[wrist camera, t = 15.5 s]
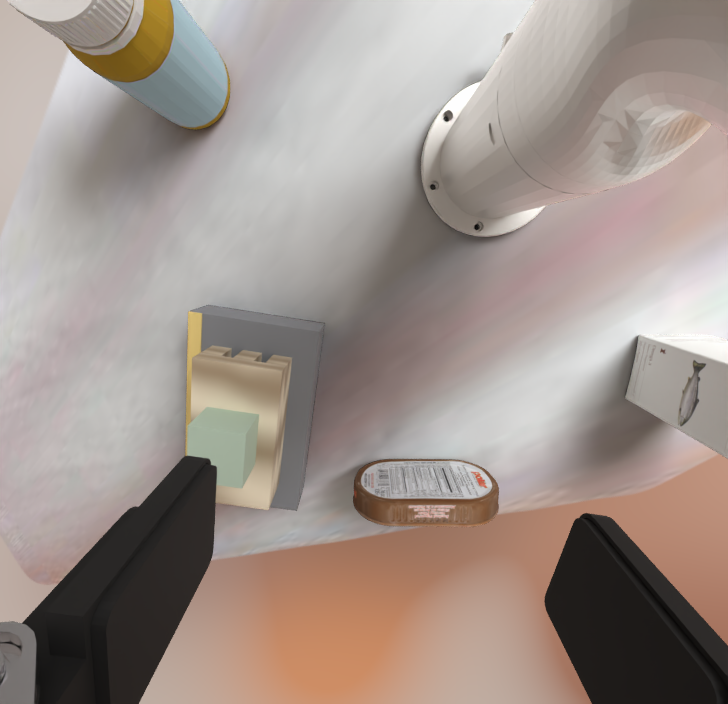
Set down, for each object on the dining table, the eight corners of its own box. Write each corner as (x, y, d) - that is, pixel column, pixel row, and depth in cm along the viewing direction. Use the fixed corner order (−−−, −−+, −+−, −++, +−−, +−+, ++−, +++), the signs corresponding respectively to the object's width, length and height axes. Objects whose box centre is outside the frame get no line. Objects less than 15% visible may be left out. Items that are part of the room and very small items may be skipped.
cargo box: (207, 406, 30) (187, 425, 27) (259, 414, 31) (245, 434, 27) (205, 457, 32) (186, 480, 29) (255, 464, 32) (242, 488, 29)
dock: (208, 304, 36) (188, 311, 32) (324, 323, 36) (319, 332, 32) (202, 472, 42) (184, 495, 38) (303, 486, 42) (296, 511, 38)
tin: (354, 477, 42) (351, 532, 33) (354, 453, 41) (350, 504, 33) (483, 477, 41) (511, 532, 33) (485, 453, 40) (514, 504, 32)
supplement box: (636, 332, 36) (770, 374, 24) (709, 333, 36) (880, 375, 24) (621, 399, 38) (738, 468, 26) (690, 400, 38) (839, 469, 26)
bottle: (232, 136, 32) (119, 42, 17) (154, 126, 32) (-25, 22, 17) (233, 44, 30) (108, -147, 16) (151, 33, 30) (-54, -171, 15)
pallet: (212, 345, 33) (192, 357, 29) (292, 357, 33) (282, 371, 29) (207, 473, 37) (188, 499, 33) (278, 483, 37) (268, 510, 33)
